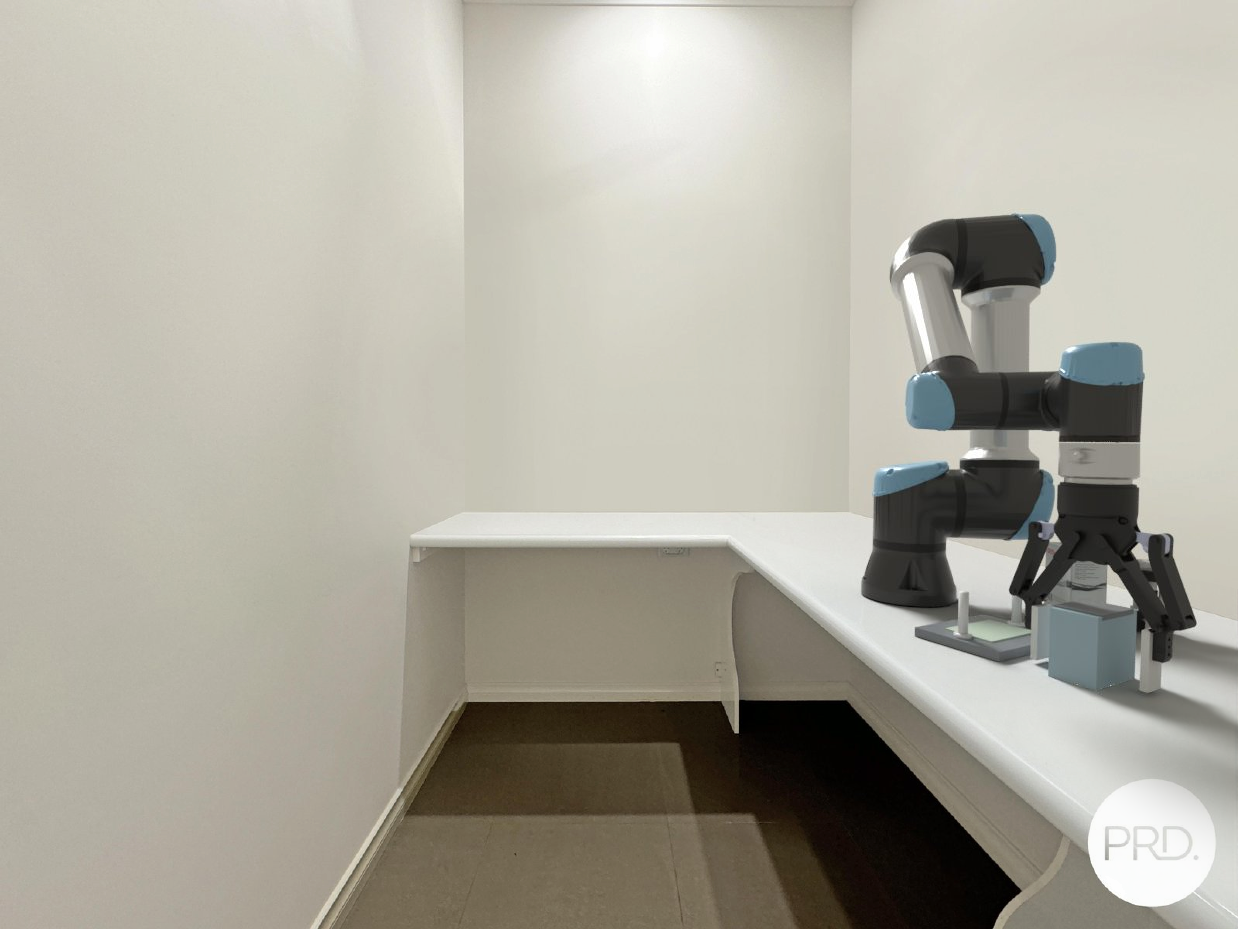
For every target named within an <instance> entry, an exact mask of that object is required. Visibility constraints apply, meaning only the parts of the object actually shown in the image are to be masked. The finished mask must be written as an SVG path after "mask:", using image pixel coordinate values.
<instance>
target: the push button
mask: <svg viewBox="0 0 1238 929" xmlns="http://www.w3.org/2000/svg"><path fill="white" fill-rule="evenodd" d="M1136 559H1137V560H1138V562H1139V564H1140V569H1141V571H1142V572H1143V574H1144V575H1145V577H1146V579H1147V580H1148V582H1149V583H1150V585H1151V586H1152V588H1153V589H1154V591H1155V593H1156V594H1157V596H1158V597H1159V599H1160V600H1161V602H1162V603H1163V600H1162V597H1161V594H1160V591H1159V589H1158V585H1157V583H1156V580H1155V577H1154V574H1153V571H1152V568H1151V565H1150V562H1149V559H1140V558H1139V559H1138V558H1136ZM1163 605H1164V603H1163ZM1164 607H1165V605H1164ZM1129 608H1132V609H1136V610H1137V624H1136V632H1138V633H1139V632H1140V633H1141V632H1142V630H1144V629H1148V628H1151V627H1150V626H1149V624H1148V622H1147V621H1146V619H1145V618H1144V616H1143V614H1142V613H1141V611H1140V610H1139V608H1138V606H1137V605H1136V603H1135V602H1134V600H1133V599H1132V605H1130V606H1129Z"/></svg>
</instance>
